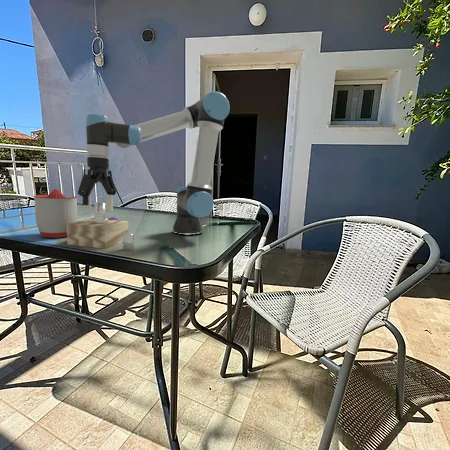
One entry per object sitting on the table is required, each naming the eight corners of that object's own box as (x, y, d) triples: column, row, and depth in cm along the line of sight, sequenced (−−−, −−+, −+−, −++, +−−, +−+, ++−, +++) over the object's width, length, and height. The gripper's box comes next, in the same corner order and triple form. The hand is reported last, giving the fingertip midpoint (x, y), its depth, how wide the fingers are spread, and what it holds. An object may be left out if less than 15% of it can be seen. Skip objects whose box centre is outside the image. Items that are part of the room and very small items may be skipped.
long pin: (107, 241, 110) (107, 202, 108) (101, 243, 106) (101, 203, 104) (98, 240, 111) (98, 201, 108) (92, 242, 107) (92, 202, 105)
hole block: (128, 239, 115) (128, 221, 113) (105, 248, 99) (105, 227, 98) (94, 236, 117) (94, 218, 116) (67, 244, 102) (66, 223, 101)
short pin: (135, 248, 101) (135, 233, 100) (130, 251, 98) (130, 235, 97) (126, 247, 102) (126, 232, 101) (120, 250, 98) (120, 234, 97)
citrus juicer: (89, 233, 122) (88, 189, 119) (56, 241, 106) (54, 190, 102) (62, 230, 126) (60, 187, 123) (26, 236, 110) (22, 187, 106)
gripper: (108, 159, 116) (109, 208, 119) (64, 153, 91) (67, 214, 95) (124, 160, 114) (124, 209, 118) (84, 154, 90) (86, 216, 94)
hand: (99, 212), depth 106 cm, fingers open, 13 cm apart
